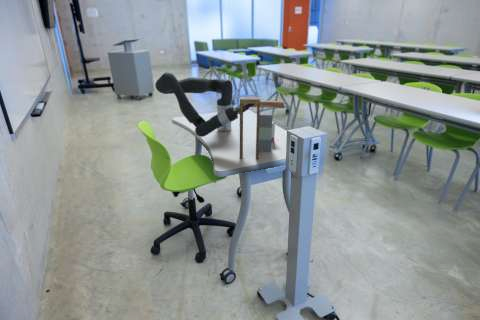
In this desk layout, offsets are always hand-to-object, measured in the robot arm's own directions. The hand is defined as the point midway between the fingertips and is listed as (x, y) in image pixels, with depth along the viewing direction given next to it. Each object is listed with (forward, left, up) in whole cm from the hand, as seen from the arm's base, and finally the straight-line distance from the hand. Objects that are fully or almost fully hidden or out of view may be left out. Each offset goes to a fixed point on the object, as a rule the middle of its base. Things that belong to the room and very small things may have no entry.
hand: (255, 101), depth 166 cm
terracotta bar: (0, +4, -3) cm, 5 cm away
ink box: (-14, +7, -28) cm, 32 cm away
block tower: (0, +5, -28) cm, 28 cm away
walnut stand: (+11, -3, -28) cm, 30 cm away
